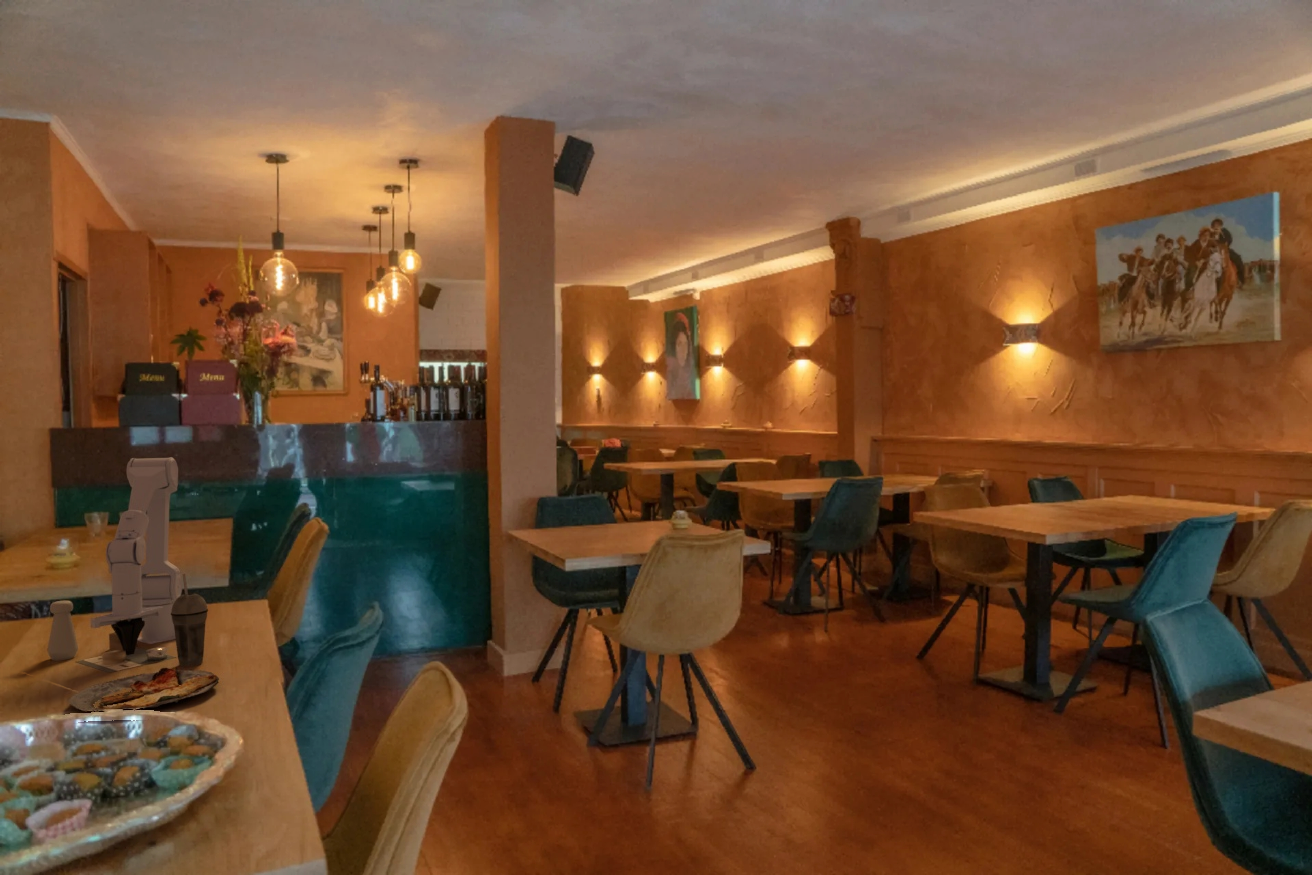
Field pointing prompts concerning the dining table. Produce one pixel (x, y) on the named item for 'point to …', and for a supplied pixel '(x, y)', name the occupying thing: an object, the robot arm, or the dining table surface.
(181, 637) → the beverage cup
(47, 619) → the dining table surface
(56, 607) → the salt shaker
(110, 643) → the walnut block
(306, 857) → the dining table surface
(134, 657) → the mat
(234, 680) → the dining table surface
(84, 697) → the food plate
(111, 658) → the beech disc
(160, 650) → the tealight tin
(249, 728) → the dining table surface
